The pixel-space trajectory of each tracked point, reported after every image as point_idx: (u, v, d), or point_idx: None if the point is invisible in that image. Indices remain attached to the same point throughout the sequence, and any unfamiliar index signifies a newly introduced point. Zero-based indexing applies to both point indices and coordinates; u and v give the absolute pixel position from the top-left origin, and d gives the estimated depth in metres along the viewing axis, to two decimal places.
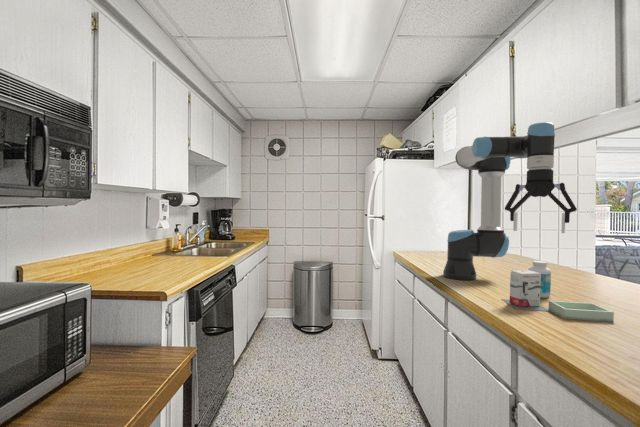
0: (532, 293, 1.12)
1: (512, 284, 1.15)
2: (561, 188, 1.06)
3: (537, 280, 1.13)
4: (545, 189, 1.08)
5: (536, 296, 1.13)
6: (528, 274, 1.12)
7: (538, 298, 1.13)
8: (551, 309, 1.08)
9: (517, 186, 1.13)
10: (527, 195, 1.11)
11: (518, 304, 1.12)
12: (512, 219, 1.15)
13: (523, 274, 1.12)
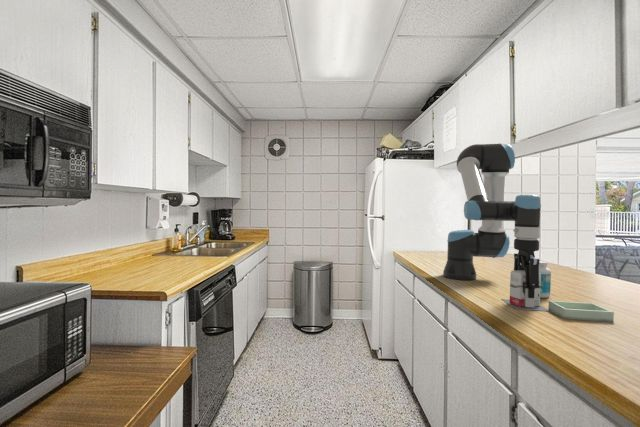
0: None
1: (512, 284, 1.15)
2: (529, 263, 1.09)
3: None
4: (522, 259, 1.13)
5: (536, 296, 1.13)
6: None
7: (538, 298, 1.13)
8: (551, 309, 1.08)
9: (514, 255, 1.21)
10: (518, 264, 1.17)
11: (518, 304, 1.12)
12: None
13: (523, 274, 1.12)
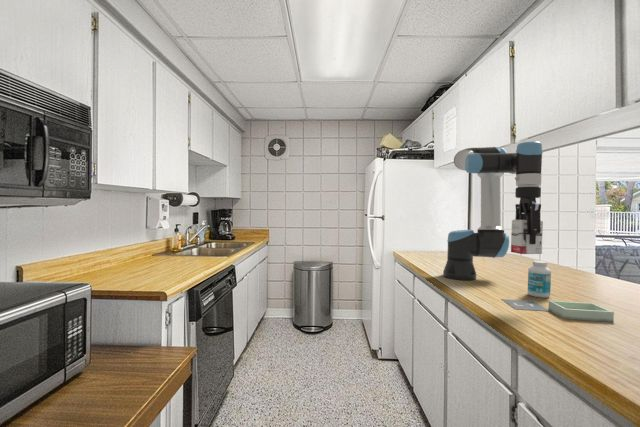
0: None
1: (513, 232, 1.15)
2: (531, 208, 1.09)
3: None
4: (523, 206, 1.13)
5: (538, 244, 1.12)
6: None
7: (539, 246, 1.12)
8: (551, 309, 1.08)
9: (516, 206, 1.20)
10: (519, 213, 1.16)
11: (519, 251, 1.12)
12: None
13: (524, 221, 1.12)
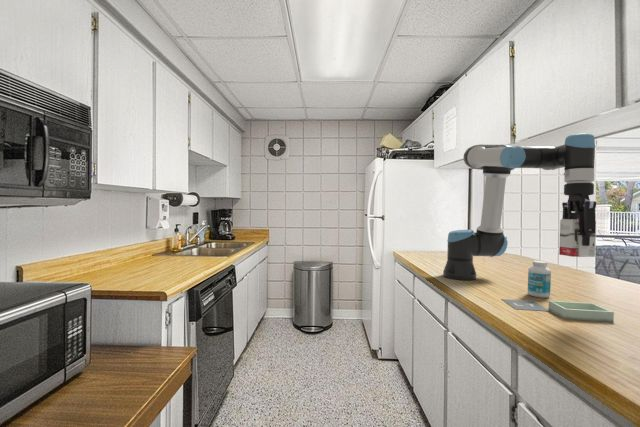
0: None
1: (562, 233, 1.05)
2: (584, 206, 0.99)
3: None
4: (574, 204, 1.03)
5: (591, 245, 1.02)
6: None
7: (592, 248, 1.02)
8: (551, 309, 1.08)
9: (563, 204, 1.10)
10: (568, 212, 1.07)
11: (569, 254, 1.02)
12: None
13: (575, 220, 1.02)
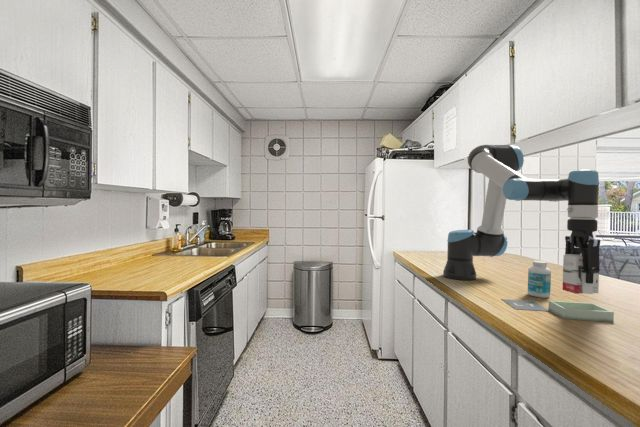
0: None
1: (566, 268, 1.05)
2: (588, 244, 0.99)
3: None
4: (578, 241, 1.03)
5: (594, 282, 1.02)
6: None
7: (596, 285, 1.02)
8: (551, 309, 1.08)
9: (566, 238, 1.10)
10: (571, 247, 1.06)
11: (573, 290, 1.02)
12: None
13: (579, 257, 1.01)
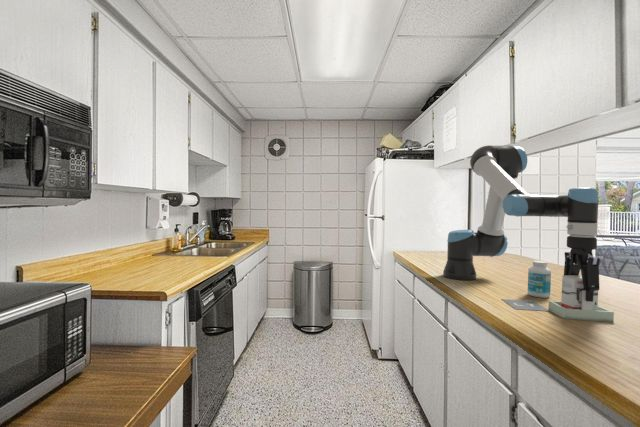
0: None
1: (564, 290, 1.05)
2: (588, 262, 0.99)
3: None
4: (577, 258, 1.03)
5: (593, 304, 1.02)
6: None
7: (595, 307, 1.02)
8: (551, 309, 1.08)
9: (565, 254, 1.10)
10: (570, 263, 1.06)
11: None
12: None
13: (577, 280, 1.02)
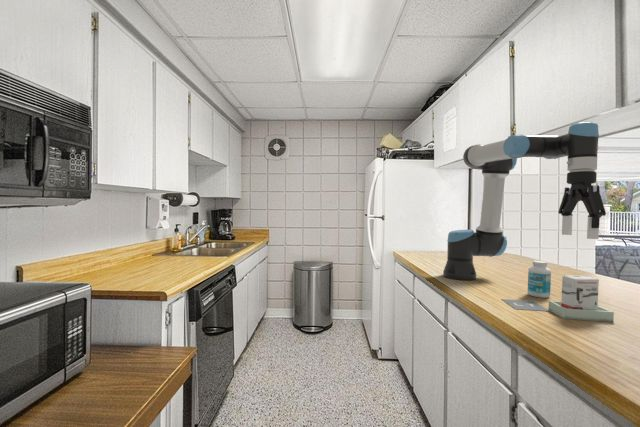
0: (588, 301, 1.02)
1: (564, 290, 1.05)
2: (588, 191, 1.00)
3: (594, 287, 1.02)
4: (577, 192, 1.04)
5: (593, 304, 1.02)
6: (583, 280, 1.02)
7: (595, 307, 1.02)
8: (551, 309, 1.08)
9: (565, 189, 1.12)
10: (568, 198, 1.09)
11: None
12: None
13: (577, 280, 1.02)
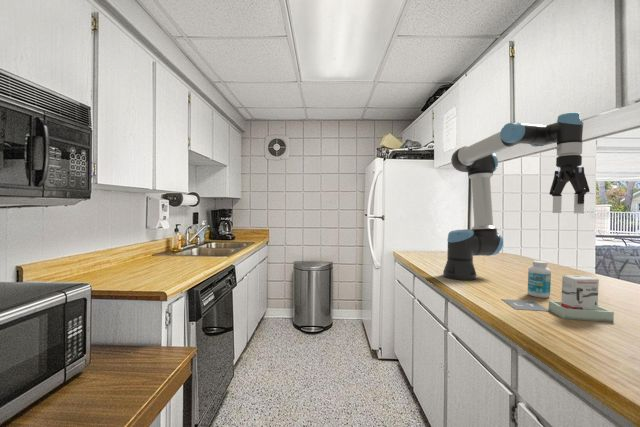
0: (588, 301, 1.02)
1: (564, 290, 1.05)
2: (575, 172, 1.14)
3: (594, 287, 1.02)
4: (565, 174, 1.18)
5: (593, 304, 1.02)
6: (583, 280, 1.02)
7: (595, 307, 1.02)
8: (551, 309, 1.08)
9: (555, 173, 1.26)
10: (558, 180, 1.23)
11: None
12: None
13: (577, 280, 1.02)
